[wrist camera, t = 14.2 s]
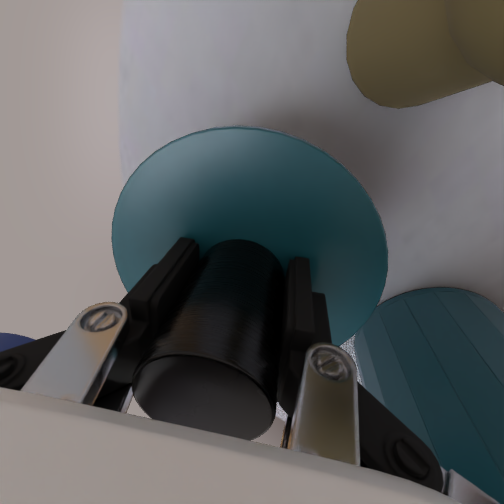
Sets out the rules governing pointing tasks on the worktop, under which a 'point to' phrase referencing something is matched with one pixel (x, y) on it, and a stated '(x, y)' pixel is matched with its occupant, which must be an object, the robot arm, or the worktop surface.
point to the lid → (242, 266)
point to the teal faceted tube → (442, 376)
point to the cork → (424, 48)
